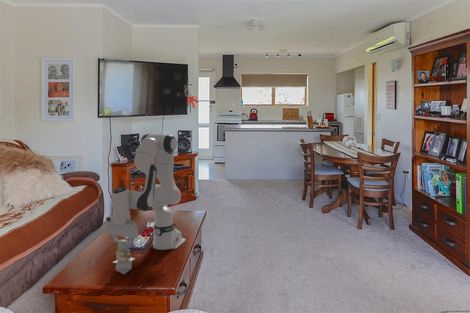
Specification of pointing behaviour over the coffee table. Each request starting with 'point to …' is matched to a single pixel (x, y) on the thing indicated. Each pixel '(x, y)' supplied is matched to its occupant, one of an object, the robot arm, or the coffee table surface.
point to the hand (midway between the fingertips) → (122, 243)
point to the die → (123, 266)
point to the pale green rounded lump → (122, 245)
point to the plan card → (129, 259)
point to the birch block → (123, 255)
